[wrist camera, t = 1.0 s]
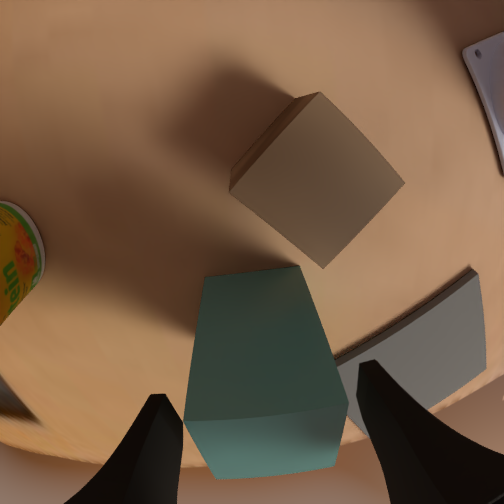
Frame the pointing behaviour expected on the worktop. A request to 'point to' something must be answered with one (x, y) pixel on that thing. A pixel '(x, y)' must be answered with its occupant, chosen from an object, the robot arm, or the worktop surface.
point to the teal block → (263, 378)
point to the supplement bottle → (18, 257)
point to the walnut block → (314, 178)
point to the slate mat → (426, 348)
